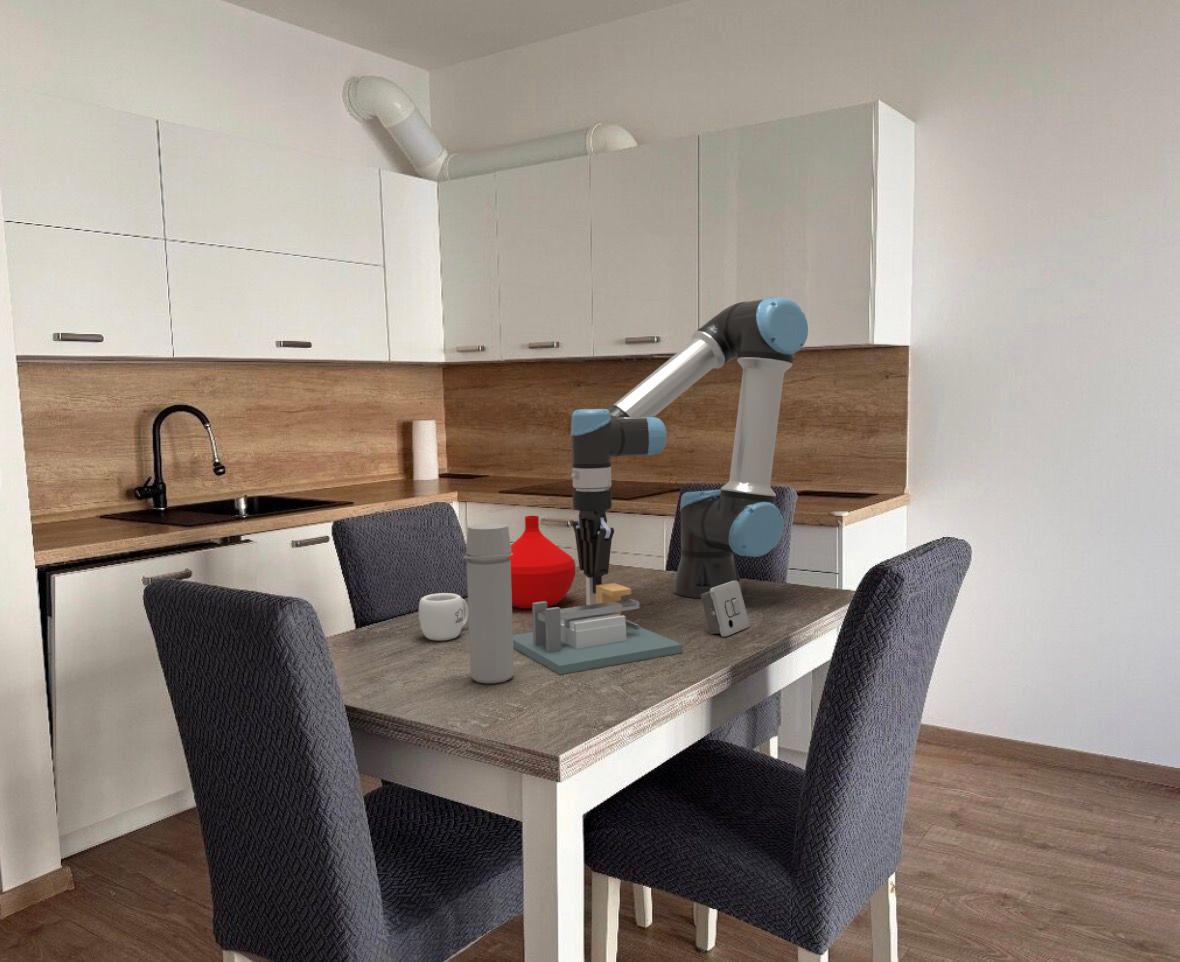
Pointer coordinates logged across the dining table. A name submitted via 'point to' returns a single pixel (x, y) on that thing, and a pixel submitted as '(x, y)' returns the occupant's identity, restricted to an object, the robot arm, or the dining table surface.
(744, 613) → the electrical switch
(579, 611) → the grey long bar
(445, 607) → the mug
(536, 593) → the vase
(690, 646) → the dining table surface
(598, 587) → the orange block
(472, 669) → the water bottle
